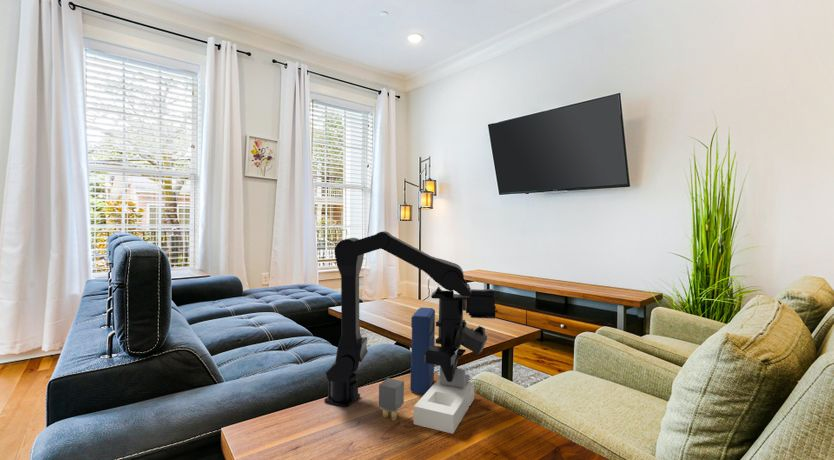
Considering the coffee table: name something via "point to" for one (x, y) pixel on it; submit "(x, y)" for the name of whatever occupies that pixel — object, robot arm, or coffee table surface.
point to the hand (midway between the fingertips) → (449, 381)
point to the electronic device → (422, 349)
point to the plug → (391, 396)
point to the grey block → (455, 378)
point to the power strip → (443, 406)
